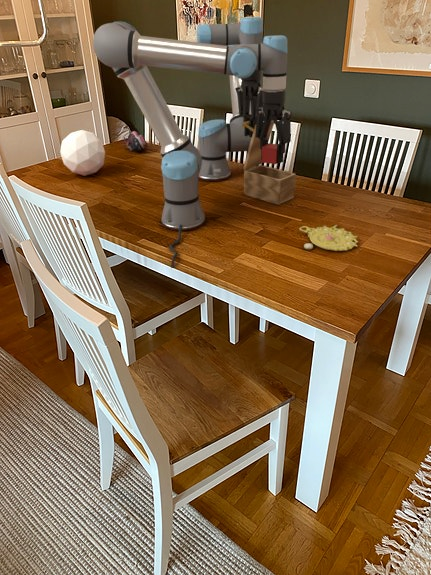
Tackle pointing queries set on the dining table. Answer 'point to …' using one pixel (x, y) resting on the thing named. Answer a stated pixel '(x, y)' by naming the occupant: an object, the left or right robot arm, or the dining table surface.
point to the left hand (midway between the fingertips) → (272, 160)
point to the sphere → (82, 152)
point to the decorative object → (330, 238)
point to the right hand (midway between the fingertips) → (249, 135)
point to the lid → (255, 147)
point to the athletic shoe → (135, 142)
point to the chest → (269, 184)
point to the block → (269, 153)
